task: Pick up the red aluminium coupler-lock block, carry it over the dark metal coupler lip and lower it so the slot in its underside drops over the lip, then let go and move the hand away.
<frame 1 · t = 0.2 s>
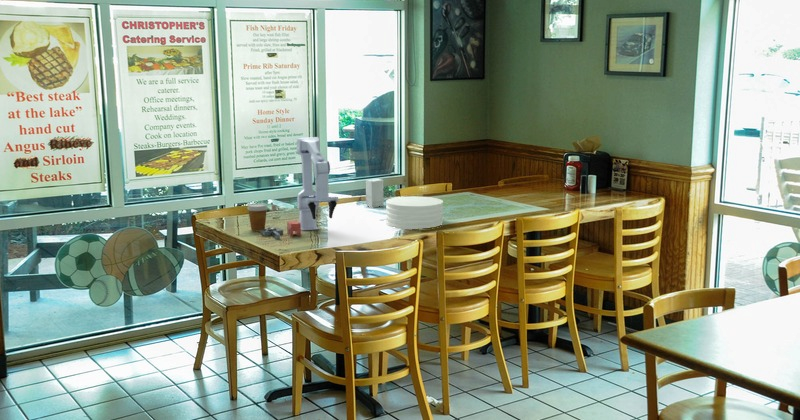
hand: (322, 218, 375), 10 cm above the table, tool pointing down, fingers open, 7 cm apart
coupler lip: (275, 237, 382), on the table
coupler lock: (294, 234, 387), on the table
disposable coffee cup: (258, 230, 398), on the table
skincare box: (374, 206, 460), on the table
plate stack: (414, 224, 414), on the table
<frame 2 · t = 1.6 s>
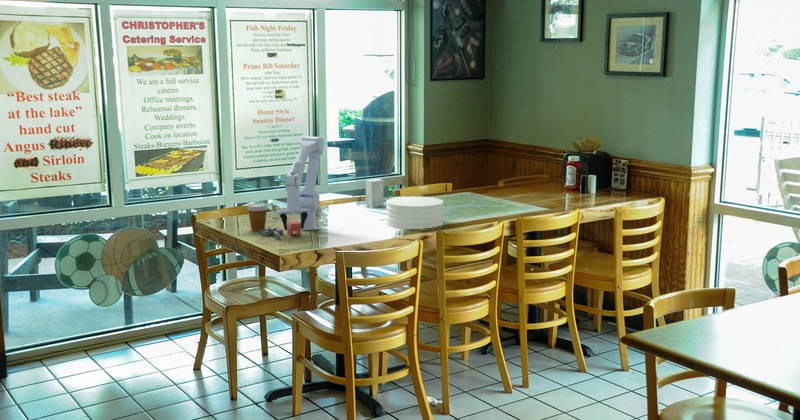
hand: (293, 229, 387), 3 cm above the table, tool pointing down, fingers open, 7 cm apart
nothing on the table moved.
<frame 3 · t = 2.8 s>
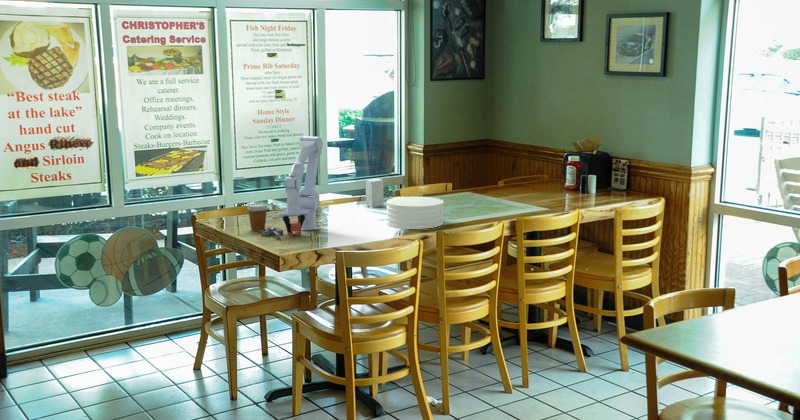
hand: (294, 231, 387), 1 cm above the table, tool pointing down, fingers closed on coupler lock, 5 cm apart
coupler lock: (294, 234, 387), on the table, touching gripper
everything else where it was.
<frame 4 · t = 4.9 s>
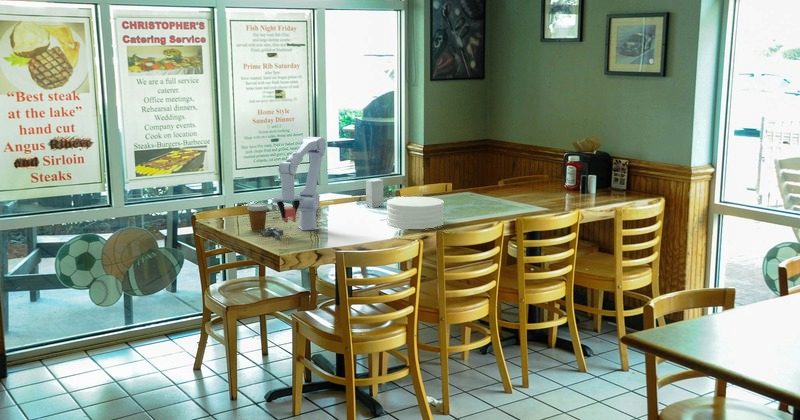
hand: (288, 217, 384), 8 cm above the table, tool pointing down, fingers closed on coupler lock, 5 cm apart
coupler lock: (288, 220, 385), point 7 cm above the table, touching gripper
everything else where it was.
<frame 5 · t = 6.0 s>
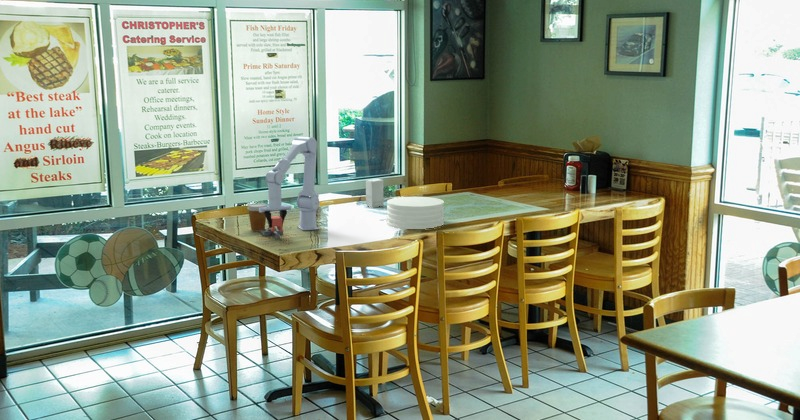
hand: (275, 226, 381), 5 cm above the table, tool pointing down, fingers closed on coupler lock, 5 cm apart
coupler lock: (275, 230, 382), point 3 cm above the table, touching gripper
everything else where it was.
when the fingers open (2 cm above the table, at t = 6.9 s): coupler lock stays where it is, resting in coupler lip.
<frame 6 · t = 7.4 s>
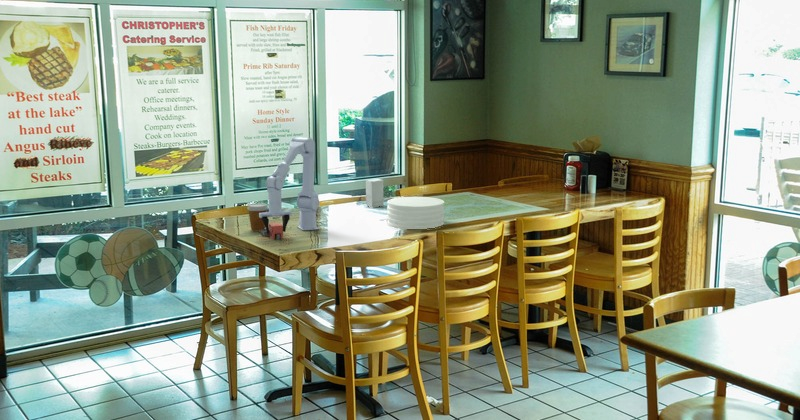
hand: (275, 232, 382), 2 cm above the table, tool pointing down, fingers open, 7 cm apart
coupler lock: (275, 237, 382), resting in coupler lip
everything else where it was.
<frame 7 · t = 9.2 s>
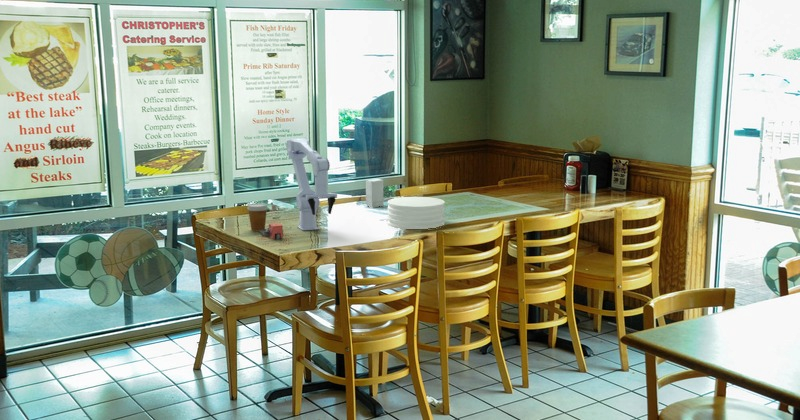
hand: (321, 214, 388), 9 cm above the table, tool pointing down, fingers open, 7 cm apart
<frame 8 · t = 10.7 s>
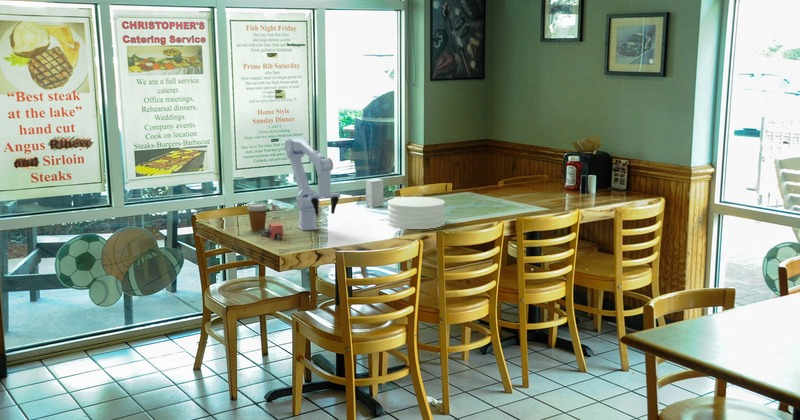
hand: (324, 213, 388), 9 cm above the table, tool pointing down, fingers open, 7 cm apart
at the end: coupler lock 0.1 cm off-centre on the coupler lip, point 0.0 cm above the coupler lip's base; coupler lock tilted 0°; the gripper is holding nothing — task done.
